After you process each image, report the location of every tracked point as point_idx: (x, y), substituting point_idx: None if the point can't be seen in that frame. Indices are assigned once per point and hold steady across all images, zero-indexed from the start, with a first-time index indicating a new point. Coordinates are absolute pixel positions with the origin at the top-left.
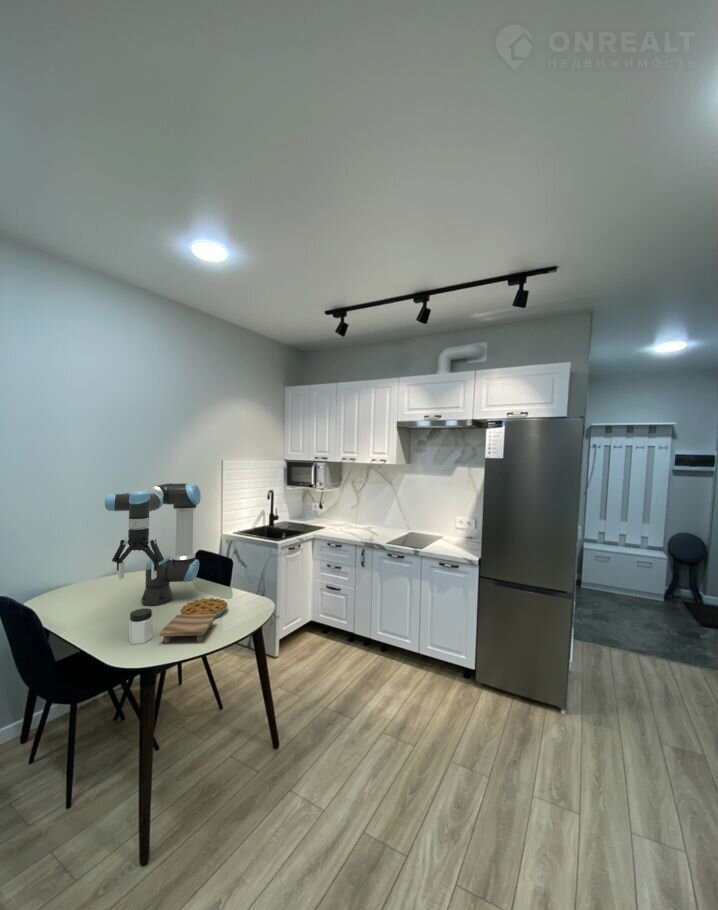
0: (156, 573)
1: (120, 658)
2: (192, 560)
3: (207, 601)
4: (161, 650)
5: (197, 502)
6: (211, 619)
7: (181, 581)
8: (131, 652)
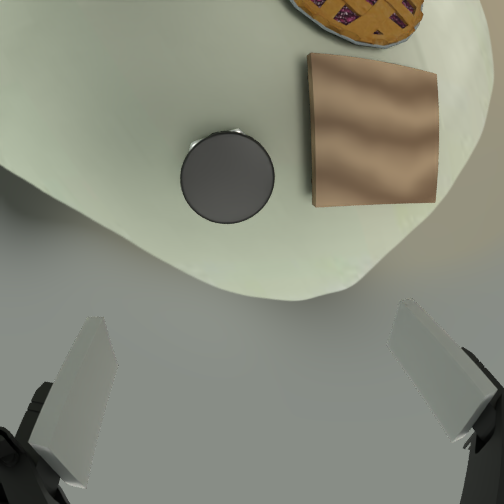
0: (431, 319)
1: (231, 275)
2: None
3: None
4: (324, 230)
5: None
6: (436, 114)
7: None
8: (243, 244)
